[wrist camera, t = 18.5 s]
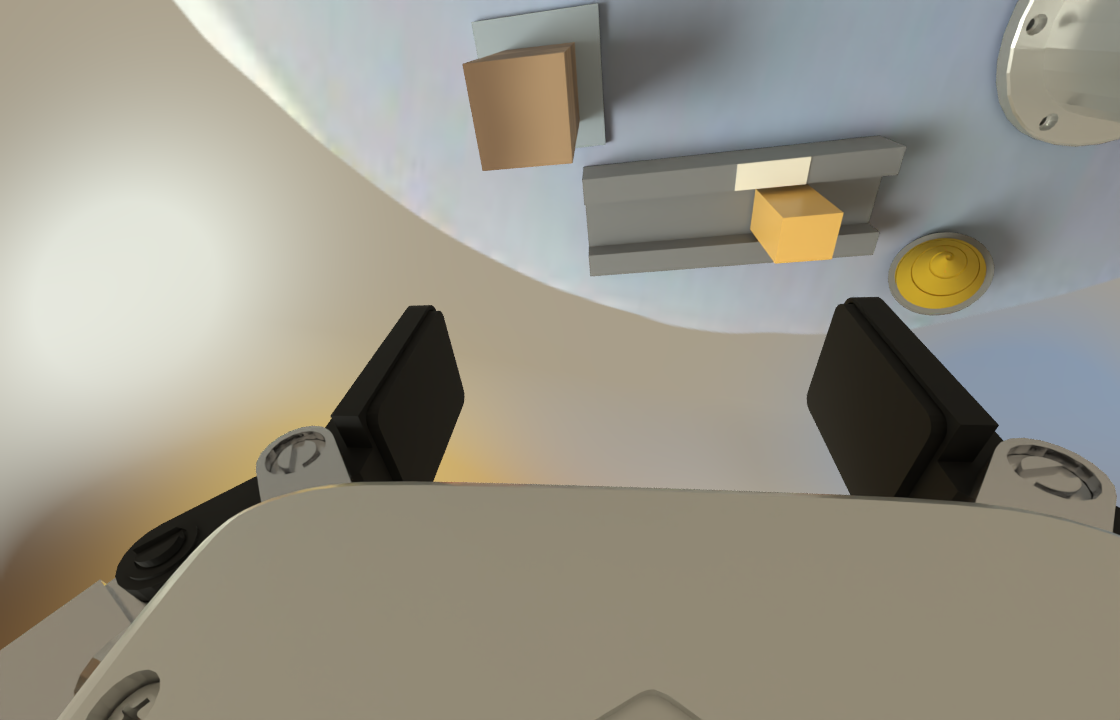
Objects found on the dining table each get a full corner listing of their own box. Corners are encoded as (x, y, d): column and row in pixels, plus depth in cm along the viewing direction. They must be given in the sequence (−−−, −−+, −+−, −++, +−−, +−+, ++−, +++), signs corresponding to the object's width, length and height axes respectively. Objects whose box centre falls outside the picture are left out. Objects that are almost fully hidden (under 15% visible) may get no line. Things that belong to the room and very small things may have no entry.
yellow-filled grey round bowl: (876, 306, 35) (871, 291, 27) (906, 237, 34) (910, 199, 26) (963, 327, 32) (987, 317, 24) (999, 252, 31) (1037, 215, 23)
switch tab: (806, 183, 28) (843, 212, 24) (798, 225, 29) (831, 259, 25) (755, 188, 28) (782, 217, 24) (750, 229, 30) (774, 263, 25)
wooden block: (574, 42, 25) (563, 52, 17) (579, 121, 28) (572, 163, 20) (504, 50, 26) (462, 64, 18) (515, 128, 28) (482, 171, 20)
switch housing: (879, 135, 27) (907, 146, 25) (851, 236, 31) (873, 255, 29) (583, 167, 30) (582, 180, 27) (590, 257, 33) (590, 277, 31)
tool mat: (597, 3, 25) (598, 3, 24) (605, 142, 29) (605, 144, 28) (473, 22, 25) (471, 22, 25) (498, 154, 30) (496, 156, 29)
